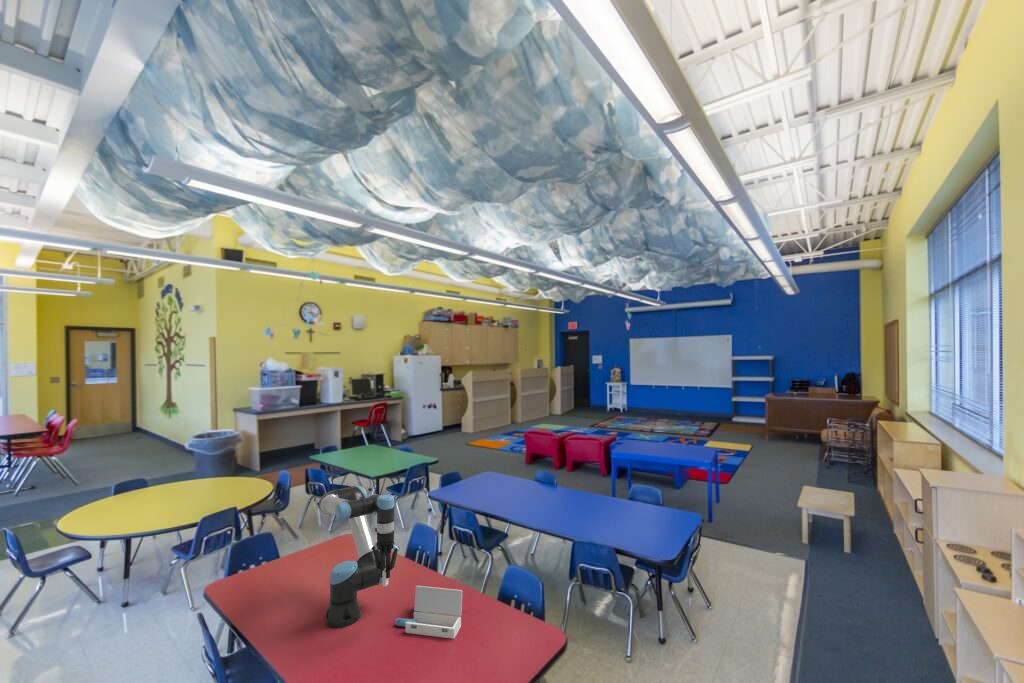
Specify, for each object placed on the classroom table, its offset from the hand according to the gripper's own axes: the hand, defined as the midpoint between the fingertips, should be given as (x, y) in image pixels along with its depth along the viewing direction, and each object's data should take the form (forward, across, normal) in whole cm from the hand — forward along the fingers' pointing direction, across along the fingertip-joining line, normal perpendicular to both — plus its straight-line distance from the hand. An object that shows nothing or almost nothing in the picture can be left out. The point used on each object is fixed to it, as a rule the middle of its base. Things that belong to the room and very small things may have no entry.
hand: (385, 585), depth 194 cm
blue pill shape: (+17, +10, 0) cm, 19 cm away
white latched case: (+17, +23, 0) cm, 28 cm away
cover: (+7, +23, +5) cm, 24 cm away
